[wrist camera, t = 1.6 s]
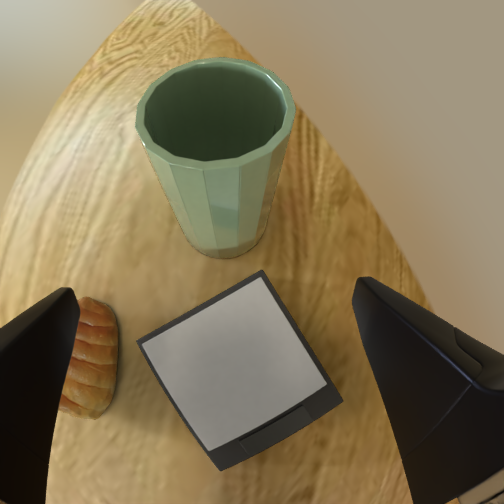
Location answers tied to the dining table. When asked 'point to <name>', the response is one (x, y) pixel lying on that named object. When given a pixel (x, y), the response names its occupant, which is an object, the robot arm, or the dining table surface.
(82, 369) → the pastry
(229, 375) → the scale
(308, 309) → the dining table surface
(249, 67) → the cup
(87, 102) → the dining table surface
